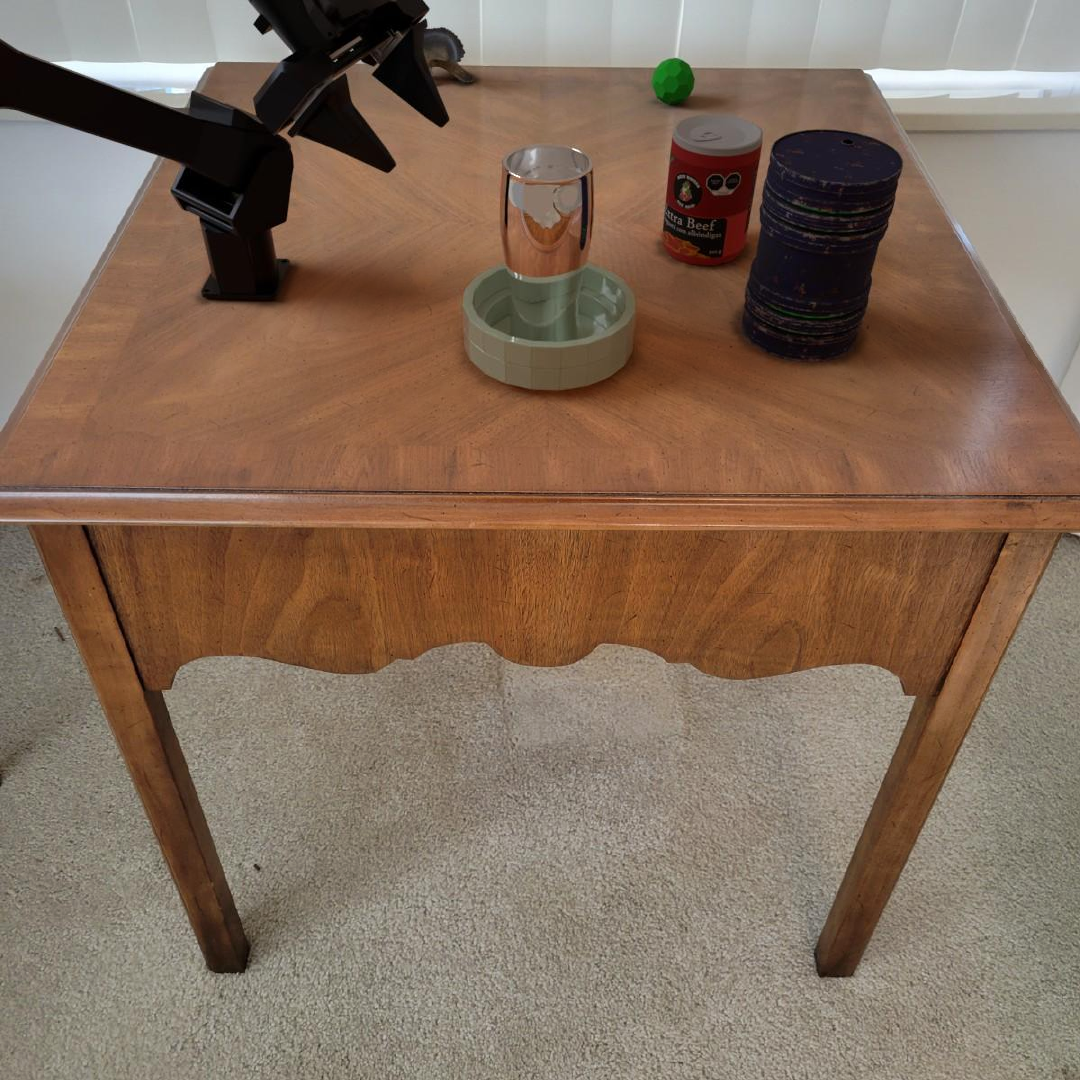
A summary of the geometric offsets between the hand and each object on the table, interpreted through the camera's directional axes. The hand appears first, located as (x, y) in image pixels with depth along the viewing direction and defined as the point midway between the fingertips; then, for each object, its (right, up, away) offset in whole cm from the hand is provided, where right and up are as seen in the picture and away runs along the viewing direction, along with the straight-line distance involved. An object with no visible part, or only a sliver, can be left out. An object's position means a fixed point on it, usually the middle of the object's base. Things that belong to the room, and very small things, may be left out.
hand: (420, 145), depth 82 cm
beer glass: (+10, -16, +1) cm, 19 cm away
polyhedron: (+25, +21, +40) cm, 52 cm away
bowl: (+10, -16, +2) cm, 19 cm away
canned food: (+25, -4, +14) cm, 29 cm away
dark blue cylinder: (+31, -14, +4) cm, 35 cm away
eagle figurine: (-3, +25, +45) cm, 51 cm away
